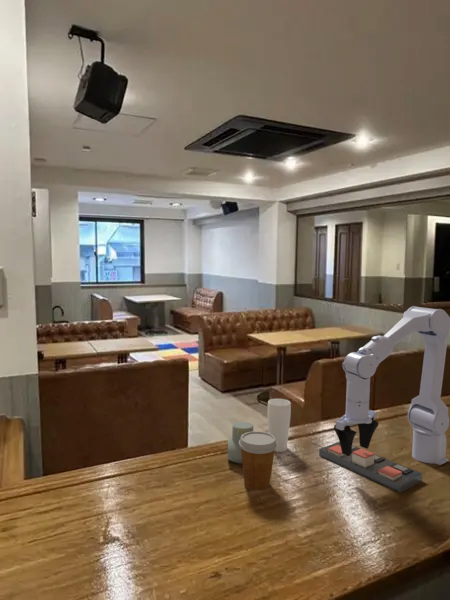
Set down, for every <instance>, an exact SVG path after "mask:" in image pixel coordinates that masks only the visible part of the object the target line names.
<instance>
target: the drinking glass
mask: <svg viewBox="0 0 450 600" xmlns="http://www.w3.org/2000/svg"><path fill="white" fill-rule="evenodd" d="M291 407H292V403H291V401H290V400H288V399H284V398H271V399H270V398H269V400H268V401H267V431H268V432H267V433H269V434H271V435H273V436H274V437H275V440H276V442H277V446H276V449H275V452H277V453H280V452H281V453H282V452H286V451H287V450H288V442H289V434H290V433H289V432H290V426H291V425H290V424H291V414H292V413H291V412H292V411H291V410H292V409H291Z"/></svg>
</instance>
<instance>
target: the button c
mask: <svg viewBox="0 0 450 600" xmlns="http://www.w3.org/2000/svg"><path fill="white" fill-rule="evenodd" d="M378 475H381V476H383V477H385V478H387V479H390V480H392V481H394V480H396V479H398V478H400V477H402V472H401V471H399V470H396V469H394V468H392V467H389V466H386V467H384V468H382V469H380V470H379V473H378Z"/></svg>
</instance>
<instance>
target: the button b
mask: <svg viewBox="0 0 450 600" xmlns="http://www.w3.org/2000/svg"><path fill="white" fill-rule="evenodd" d="M374 454H375V453H374V452H371V451H369V450H366V449H365V448H363V447H361V449H359V450H356V451H354V452H352V462H353V463H355V464H357V465H358V466H360V467H363V468H367V467H368V466H370V465H372V464H374Z"/></svg>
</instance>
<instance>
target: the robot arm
mask: <svg viewBox="0 0 450 600" xmlns="http://www.w3.org/2000/svg"><path fill="white" fill-rule="evenodd" d="M449 331H450V316H449V315H448V313H447V311H445V310H444V309H442V308H429V307H420V306H416V305H412V306H411V307H409V308H408V309H406V311H404V312H403V316H402V317H401V319H400V320H399V321H398V322H397V323H396V324H395V325H394V326H392V328H391V329H389V330H387V332H386V333H385V334H384V335H376V336H372V337H371V340H369V342H367V343H366V344H365V345H364V346H362V347H360V348H358V350H357V351H356V352H355V351H354V352H353V351H352V352H350V353H348V354H347V355H346V356H345V357H344V360H343V362H342V363H341V364H342V365H341V366H342V369H343V371H344V372H345V378H346V389H345V390H346V395H345V398H346V399H345V414H343V415H342V416H341V417H340V418H339V419H337V420H335V424H334V425H333V430H334V432H335V433H336V435H337V438H338V442H340V445H341V450H342V453H343V454H345V455H347V456H350V455H351V450H352V445H353V443H354V438H355V437H356V434H357V433H358V436H359V439H358V441H359V445H360V446H359V447H361V448H363V449H365V450H366V449H369V447H370V444H371V441H372V437H373V435H374V433H375V431H376V429H377V428H378V426H379V422H378V421H377V420H376V419H377V411H376V410H372V409H370V392H371V377H373V376H374V375H375V373H376V371H377V368H378V367H379V366H380V363H382V362H383V361H384V360H386V358H388V357H389V356H391V354H392V353H393V352H394V346H395V345H396V344H398V343H399V342H401V341H402V340H404V339H405V338H407V337H408V336H409V335H411V334H412V333H415V332H417V333H418V334H419V335H420V336H421V337H422V338H423V340H424V341H425V344H424V345H425V347H424V353H423V362H422V371H421V379H420V385H419V386H420V387H419V395H417V396H415V397H414V398H411V404H410V407H409V409H407V410H408V411H407V420H408V422H409V423H410V424H411V426H410V427H411V428H412V429H413V430H412V431H413V433H412V449H411V451H412V452H411V453H412V454H411V457H412V458H413V459H415V460H417V461H418V462H421V463H424V464H437V465H438V466H441V465H443V464H445V463H447V462H449V459H448V458H446V454H447V453H446V451H447V436H446V434H445V433H446V432H447V430H448V429H449V426H450V418H449V407H448V406H447V405H446V404H445V402H444V401H443V399H441V396H442V388H443V380H444V372H445V371H444V370H445V364H446V354H447V347H448V339H449ZM354 425H357V426H358V427H357V428H358V432H357V431H355V430H352V428H351V427H352V426H354Z"/></svg>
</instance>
